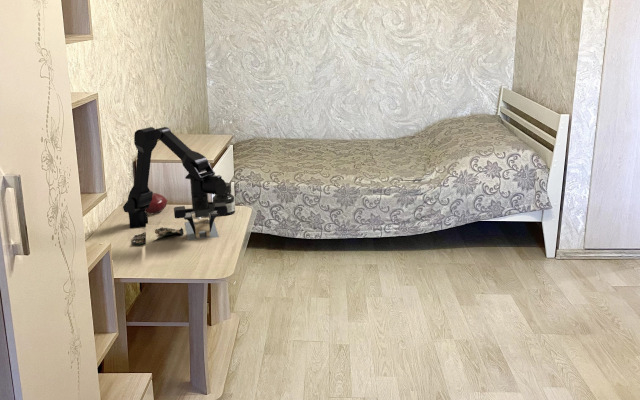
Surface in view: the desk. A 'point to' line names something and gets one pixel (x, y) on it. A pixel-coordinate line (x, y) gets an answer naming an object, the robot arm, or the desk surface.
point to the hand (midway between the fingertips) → (202, 232)
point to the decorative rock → (162, 232)
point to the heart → (156, 204)
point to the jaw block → (202, 227)
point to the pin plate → (200, 232)
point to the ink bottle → (226, 199)
